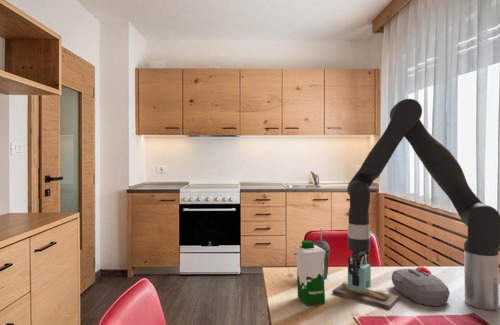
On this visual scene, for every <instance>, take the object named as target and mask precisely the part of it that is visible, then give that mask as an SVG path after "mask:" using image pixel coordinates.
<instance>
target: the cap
mask: <svg viewBox="0 0 500 325" xmlns="http://www.w3.org/2000/svg"><path fill="white" fill-rule="evenodd" d="M416 269H419V270H420V271H423V272H426V273H429V274H432V272H431V271H430V270H429V269H428V268H427V267H424V266H418V267H416V268H415V270H416Z"/></svg>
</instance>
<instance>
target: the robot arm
mask: <svg viewBox="0 0 500 325" xmlns="http://www.w3.org/2000/svg"><path fill="white" fill-rule="evenodd" d="M422 114H423V107H422V105H421V103H420V102H419V101H418V100H416V99H413V98H406V99H402V100H400V101H398V102H397V103H396V104H395V105H393V107H391V110H390V112H389V119H390V121H389V122H388V125H387V127H386V128H385V130H384V132H383V134H382V135H381V136H380V138H379V139H378V140H377V142H376V143H375V145H374V146H373V147H372V148H371V150H370V151H369V152H368V154H367V156H366V158H365V159H364V160H363V162H362V164H361V167H360V168H359V169H358V171H356V173H355V174H354V175H353V176H352V178H351V179H350V180H349V182H348V185H347V188H346V191H347V194H348V196H349V209H348V212H347V213H348V214H347V215H348V224H347V248H348V249H349V250H351V257H349V256H348V258H347V269H348V268H349V274H352V284H353V285H354V286H359V269H360V268H361V267H362V264H370V250H371V230H370V213H369V210H370V201H371V188H370V187H371V185H372V184H373V183H374V181H375V180H377V179H378V178H379V177H380V175H382V173H383V171H384V169H385V167H387V165H388V163H389V161H390V159H391V158H392V156H393V154H394V153H395V151H396V150H397V148H398V146H399V144H400V143H401V142H402V141H403V139H404V138H405V139H406V140H407V142H408V143H409V145H410V146H411V148H412V150H413V151H414V153H415V154H416V156H417V157H418V158H419V160H420V162H421V164H423V166H424V168H425V169H426V171H427V172H428V173H429V175H430V177H431V178H432V179H433V180H434V181H435V183H436V184H437V185H438V187H439V188H440V189H441V190H442V192H444V194H445V195H446V196H447V197H448V198H449V200H450V201H451V203H452V205H453V207H454V208H455V210H456V212H457V214H458V217H459V218H460V219H461V221H462V223H463V224H464V225H465V226H466V227H467V239H466V240H465V242H464V243H463V252H464V253H463V257H464V258H463V259H464V260H463V261H464V262H463V265H464V266H463V268H464V302H465V303H466V304H468V305H469V306H471V307H474V308H477V309H481V310H488V311H496V312H498V311H499V309H500V276H499V249H500V213H499V211H498V210H497V209H496V208H494V207H492V206H491V205H487V204H484V203H483V202H482V201H481V200H480V199H479V197H478V196H477V195H476V193H474V191H473V190H472V189H471V187H470V186H469V184H468V182H467V178H466V176H465V173H464V171H463V168H462V166H461V165H460V163H459V162H458V160H457V159H456V157H455V156H454V155H453V153H452V152H451V151H450V150H449V148H448V147H446V145H444V144H443V143H442V142H441V141H440V140H438V139H437V138H436V137H435V136H434V135H432V134H431V133H430V132H429V131H428V129H427V128H426V126H425V125H424V123H423V122H422V120H421V117H422ZM356 265H359V266H356ZM351 268H352V270H351Z"/></svg>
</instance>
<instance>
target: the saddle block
mask: <svg viewBox="0 0 500 325" xmlns="http://www.w3.org/2000/svg"><path fill="white" fill-rule="evenodd" d="M356 266H359V265H356ZM351 270H352V268H351ZM371 275H372V274H371V264H370V263H369V264H362V267H361V268H360V269H359V286H354V285H353V284H352V274H349V268H348V267H347V282H348V288H351V289H355V290H359V291H363V292H365V291H366V287H370V288H372V283H371V282H372V280H371V279H372V278H371V277H372V276H371Z"/></svg>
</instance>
